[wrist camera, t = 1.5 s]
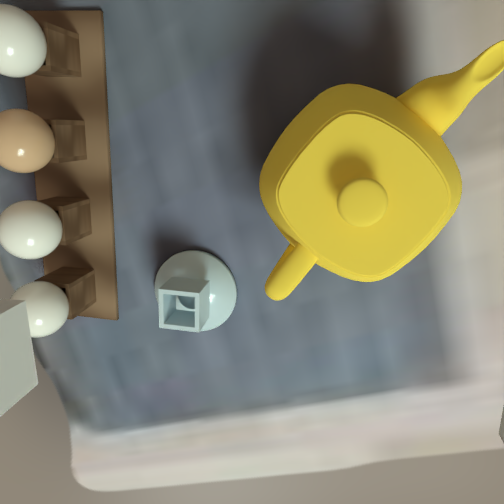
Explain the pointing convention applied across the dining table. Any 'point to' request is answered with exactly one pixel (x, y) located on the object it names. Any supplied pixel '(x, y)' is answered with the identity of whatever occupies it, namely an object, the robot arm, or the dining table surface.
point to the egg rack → (77, 160)
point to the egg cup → (194, 292)
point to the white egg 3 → (43, 307)
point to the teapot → (367, 175)
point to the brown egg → (24, 141)
